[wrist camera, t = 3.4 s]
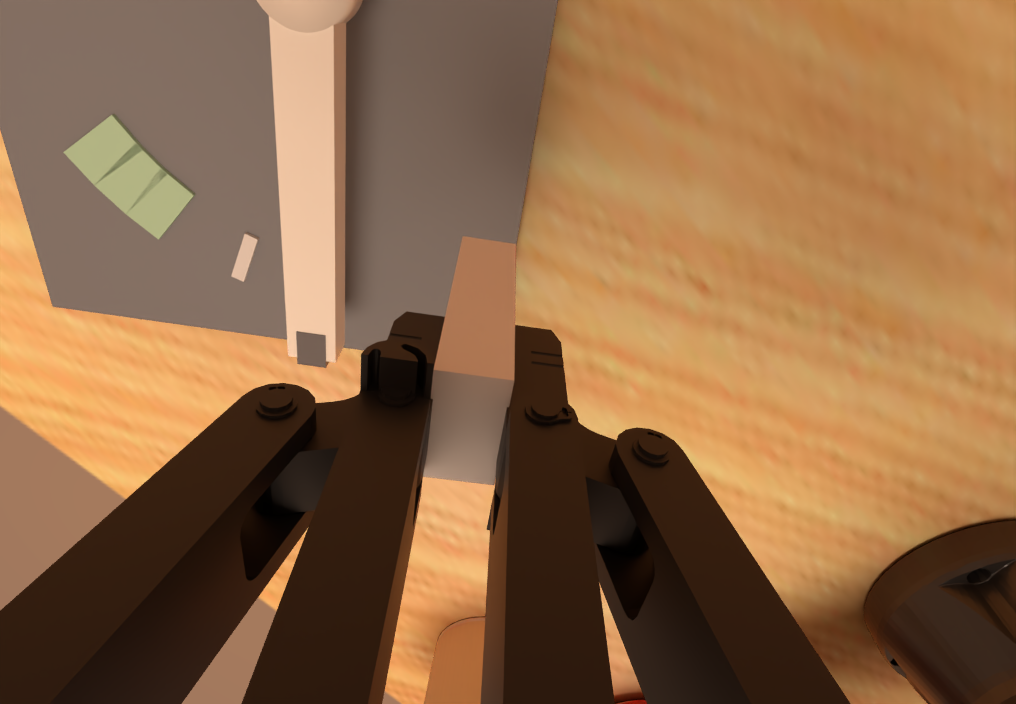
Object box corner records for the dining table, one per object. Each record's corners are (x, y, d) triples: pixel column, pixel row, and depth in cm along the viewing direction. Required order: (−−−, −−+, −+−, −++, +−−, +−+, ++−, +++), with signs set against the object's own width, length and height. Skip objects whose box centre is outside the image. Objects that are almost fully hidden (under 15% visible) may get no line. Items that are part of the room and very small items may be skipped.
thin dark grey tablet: (564, -50, 22) (571, -56, 19) (496, 353, 31) (493, 395, 28) (-52, -164, 20) (-159, -192, 17) (72, 293, 30) (18, 329, 27)
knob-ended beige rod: (263, -98, 18) (238, -106, 16) (367, -79, 18) (352, -85, 17) (287, 340, 26) (273, 361, 25) (358, 350, 26) (348, 372, 25)
